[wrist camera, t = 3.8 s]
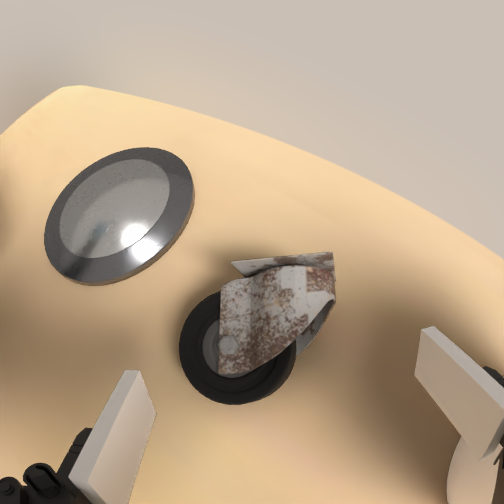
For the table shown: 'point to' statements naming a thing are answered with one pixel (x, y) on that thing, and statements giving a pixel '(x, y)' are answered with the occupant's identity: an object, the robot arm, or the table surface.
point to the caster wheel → (257, 326)
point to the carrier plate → (119, 216)
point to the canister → (471, 476)
